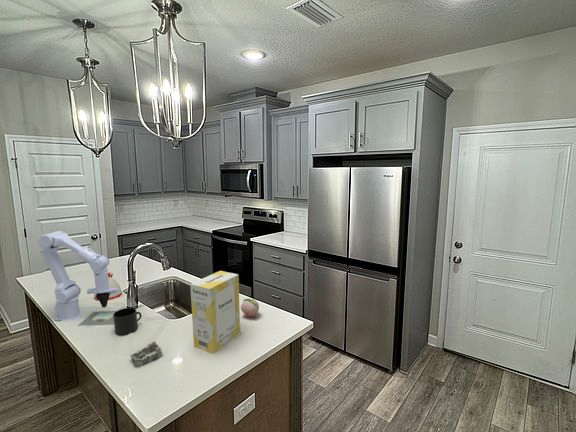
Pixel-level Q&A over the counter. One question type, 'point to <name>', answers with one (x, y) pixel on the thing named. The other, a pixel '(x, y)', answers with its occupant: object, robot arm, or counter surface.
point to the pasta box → (215, 310)
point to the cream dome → (113, 284)
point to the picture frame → (89, 322)
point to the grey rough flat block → (146, 350)
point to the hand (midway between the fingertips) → (104, 306)
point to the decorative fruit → (250, 307)
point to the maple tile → (103, 317)
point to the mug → (126, 321)
